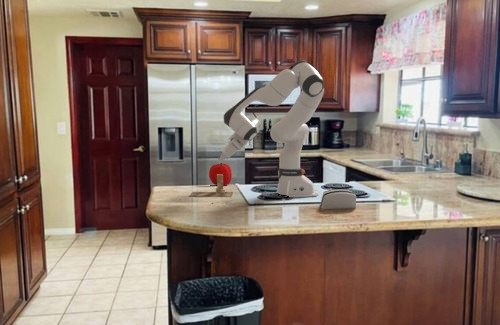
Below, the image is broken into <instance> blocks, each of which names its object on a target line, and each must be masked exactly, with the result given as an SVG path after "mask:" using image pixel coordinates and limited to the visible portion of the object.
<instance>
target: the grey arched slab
mask: <svg viewBox="0 0 500 325" xmlns="http://www.w3.org/2000/svg"><path fill="white" fill-rule="evenodd" d="M319 207H320V209H322V210H331V209H338V210H339V209H356V208H357V195H356V194H355V192H354V191H351V190H348V189H332V190H328V191H324V192H323V194H322V196H321V200H320V203H319Z"/></svg>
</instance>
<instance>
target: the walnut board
mask: <svg viewBox="0 0 500 325" xmlns="http://www.w3.org/2000/svg"><path fill="white" fill-rule="evenodd" d="M233 193H234V191H225V194H223V195H216V191H192V192H191V193H190V194H189V195H188V198H232V196H233Z"/></svg>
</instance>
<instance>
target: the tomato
mask: <svg viewBox="0 0 500 325" xmlns="http://www.w3.org/2000/svg"><path fill="white" fill-rule="evenodd" d="M217 174H223V187H224V186H228V185H229V184H230V183H231V182H232V177H233V176H232V175H233V174H232V168H231V166H230V165H229V164H228V162H226V163H223V162H221V163H216V164H213V165H211V167H210V168H209V172H208V177H209V180H210V182H211V183H212V184H214V185H216V186H217Z"/></svg>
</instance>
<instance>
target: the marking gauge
mask: <svg viewBox="0 0 500 325" xmlns="http://www.w3.org/2000/svg"><path fill="white" fill-rule="evenodd" d="M216 186H217V187H215V192H216V195H223V194H225V192H226V191H225V190H226V188H225V187H224V186H223V174H217V185H216Z"/></svg>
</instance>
